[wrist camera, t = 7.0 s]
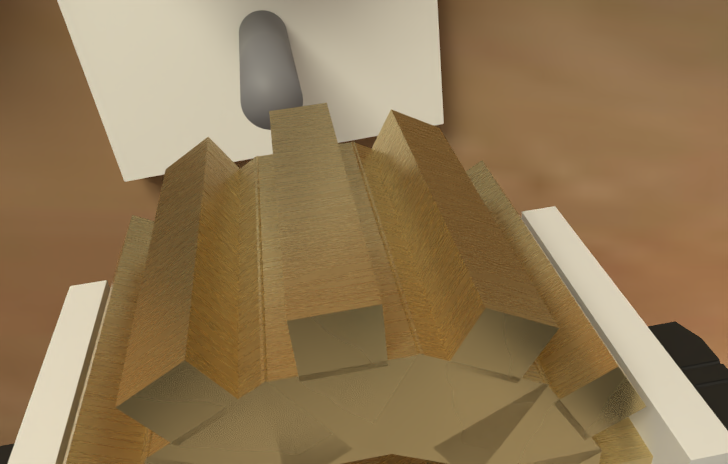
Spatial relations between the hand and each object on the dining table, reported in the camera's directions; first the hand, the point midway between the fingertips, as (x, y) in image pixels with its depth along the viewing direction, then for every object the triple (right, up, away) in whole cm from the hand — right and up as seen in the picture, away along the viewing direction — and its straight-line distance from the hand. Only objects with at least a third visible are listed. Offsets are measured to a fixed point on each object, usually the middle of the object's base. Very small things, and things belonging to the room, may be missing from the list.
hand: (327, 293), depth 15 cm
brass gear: (0, 0, 0) cm, 0 cm away
